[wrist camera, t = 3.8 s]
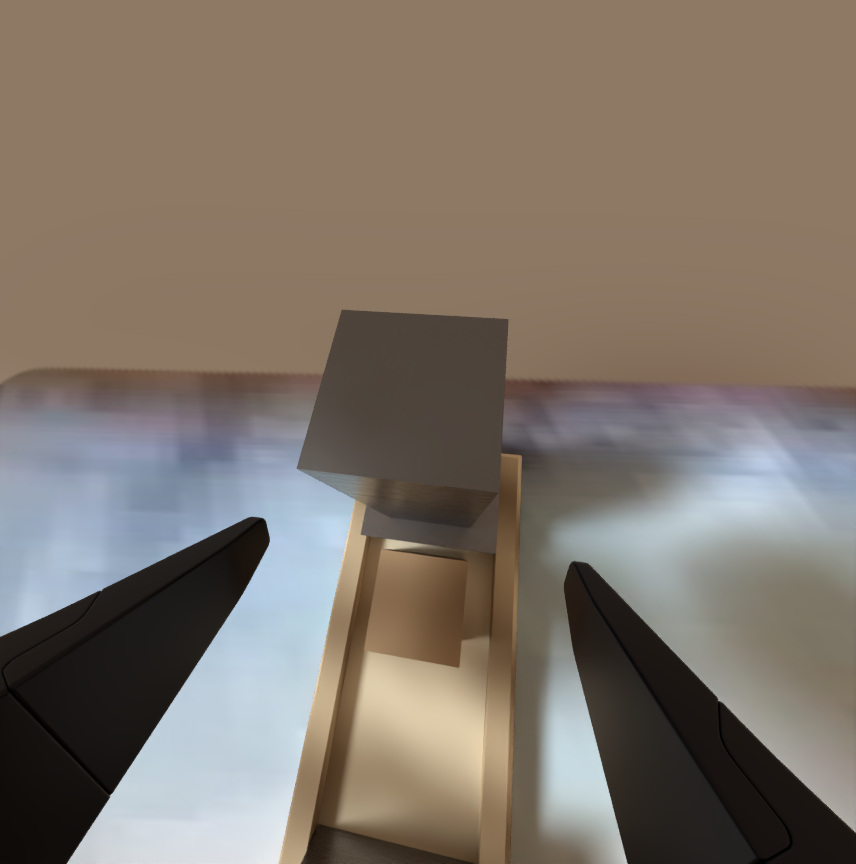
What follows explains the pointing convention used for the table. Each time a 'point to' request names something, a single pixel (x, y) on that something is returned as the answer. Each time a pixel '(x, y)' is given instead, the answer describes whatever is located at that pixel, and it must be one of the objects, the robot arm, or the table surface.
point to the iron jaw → (365, 850)
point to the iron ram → (414, 425)
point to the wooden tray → (416, 712)
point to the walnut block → (418, 607)
